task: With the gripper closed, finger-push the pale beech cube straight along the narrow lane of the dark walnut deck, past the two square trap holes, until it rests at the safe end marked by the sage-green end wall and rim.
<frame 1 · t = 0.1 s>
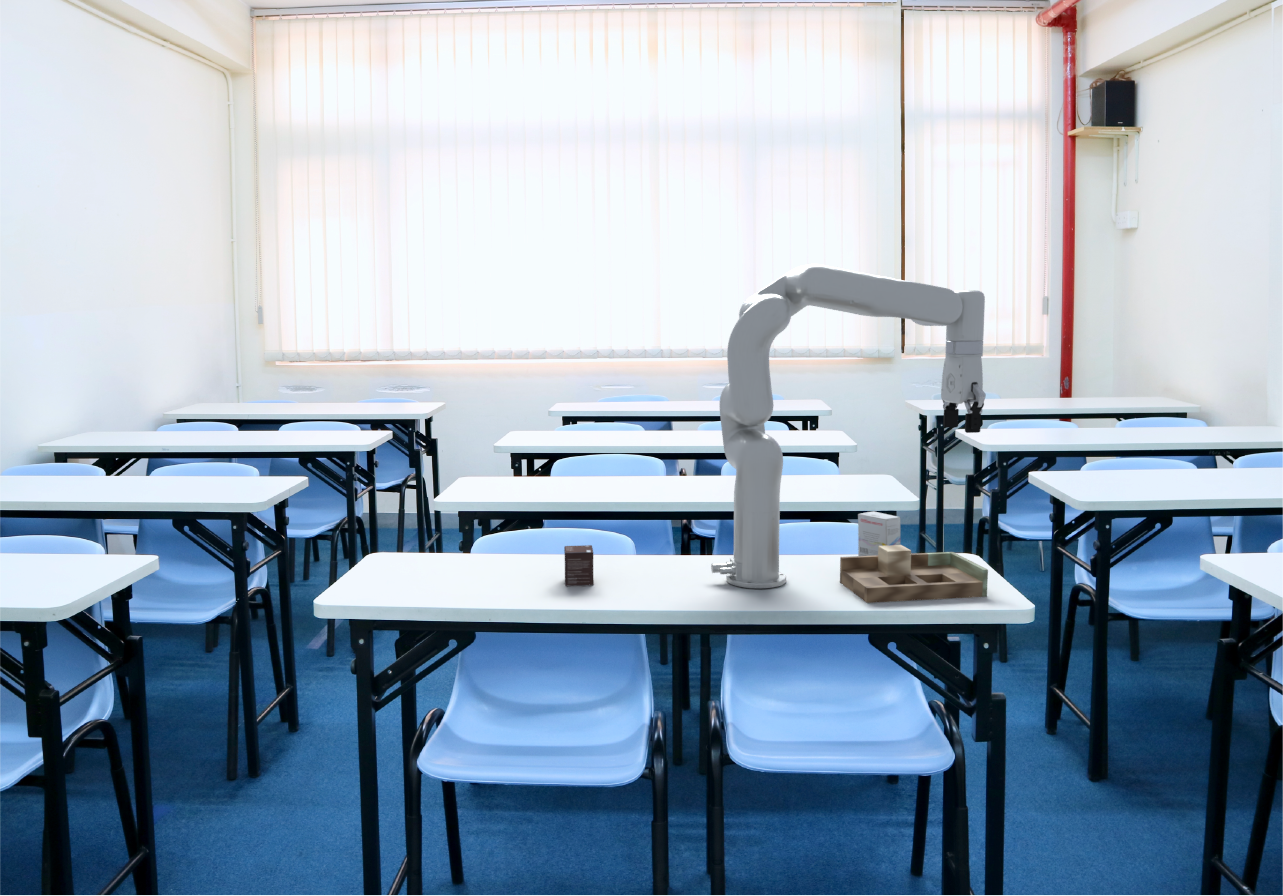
hand: (961, 429, 207), 31 cm above the table, fingers open, 9 cm apart
ink box: (878, 567, 216), on the table
box: (579, 583, 206), on the table
beech block: (893, 571, 200), point 3 cm above the table, touching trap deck
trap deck: (909, 589, 198), on the table
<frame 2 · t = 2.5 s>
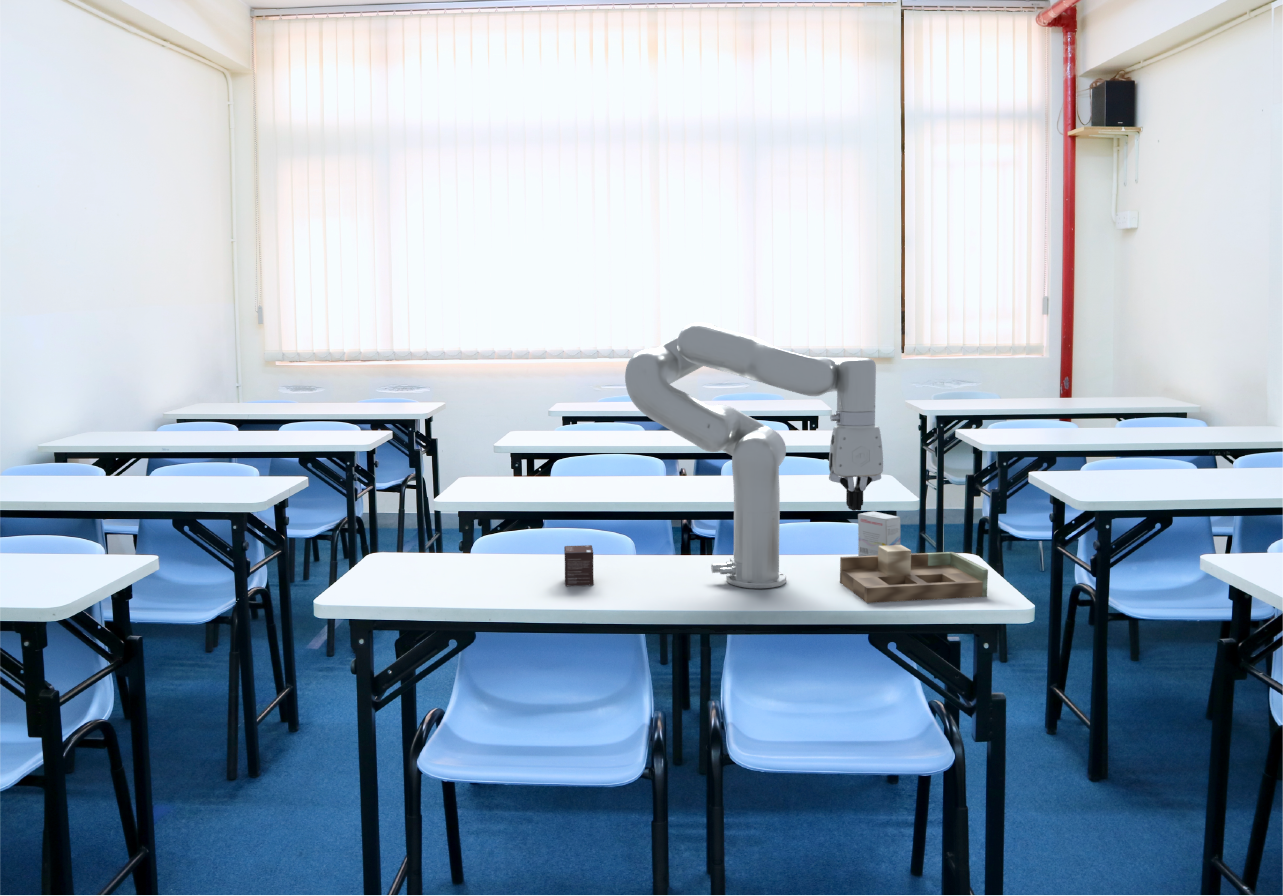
hand: (854, 509, 197), 16 cm above the table, fingers closed
nothing on the table moved.
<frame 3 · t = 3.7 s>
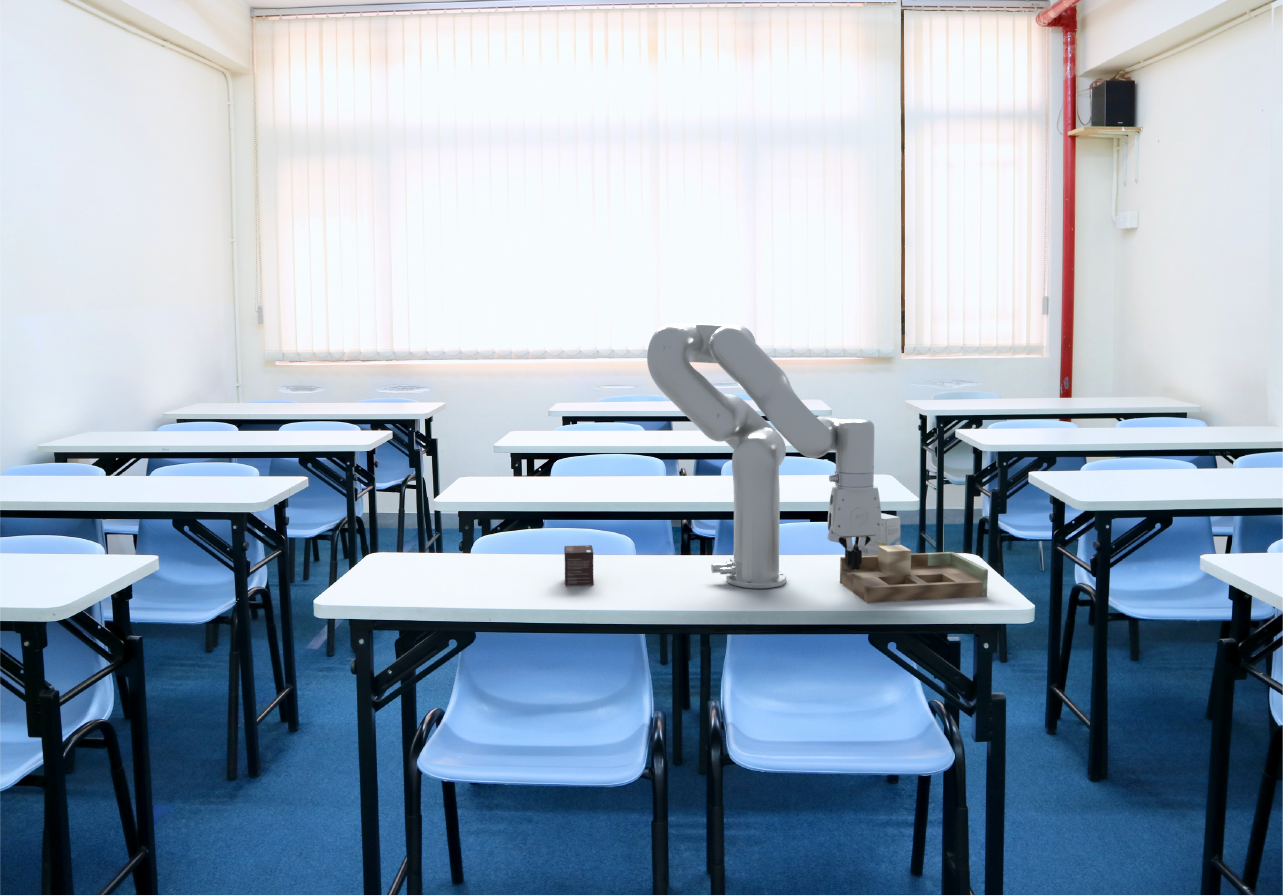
hand: (853, 568, 199), 4 cm above the table, fingers closed
nothing on the table moved.
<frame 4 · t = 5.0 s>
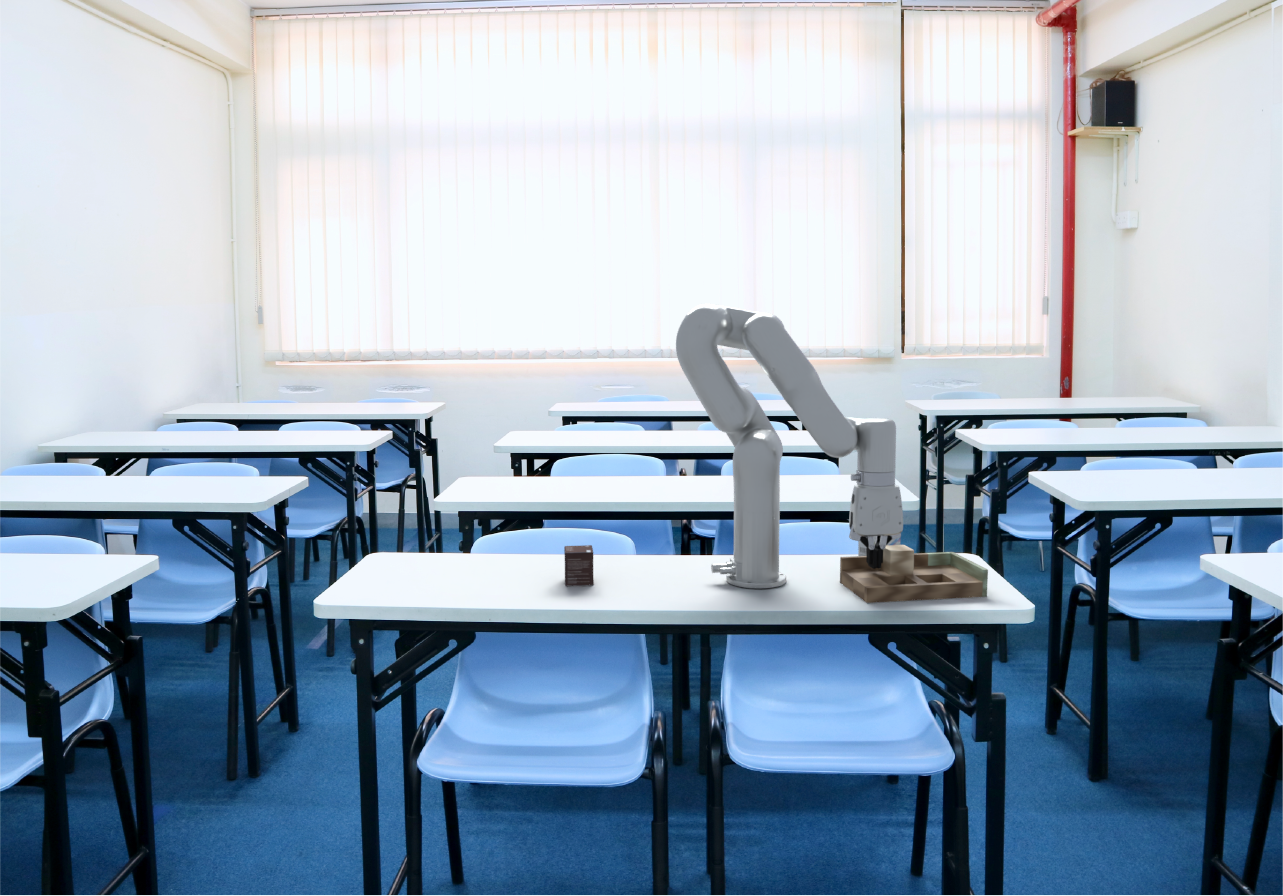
hand: (874, 566, 199), 4 cm above the table, fingers closed
beech block: (896, 571, 200), point 3 cm above the table, touching gripper
everything else where it was.
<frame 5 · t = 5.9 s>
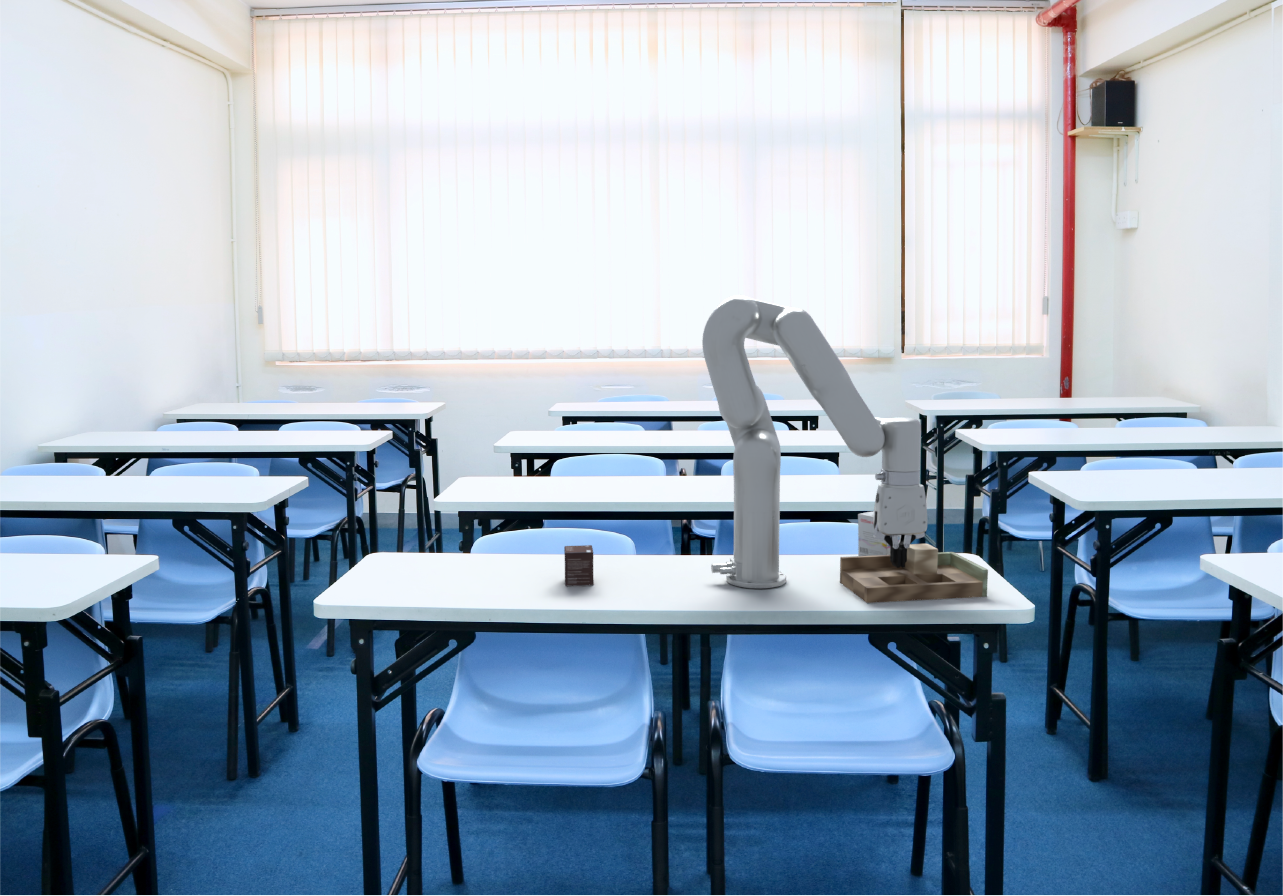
hand: (898, 565, 200), 4 cm above the table, fingers closed
beech block: (920, 570, 201), point 3 cm above the table, touching gripper, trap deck
everything else where it was.
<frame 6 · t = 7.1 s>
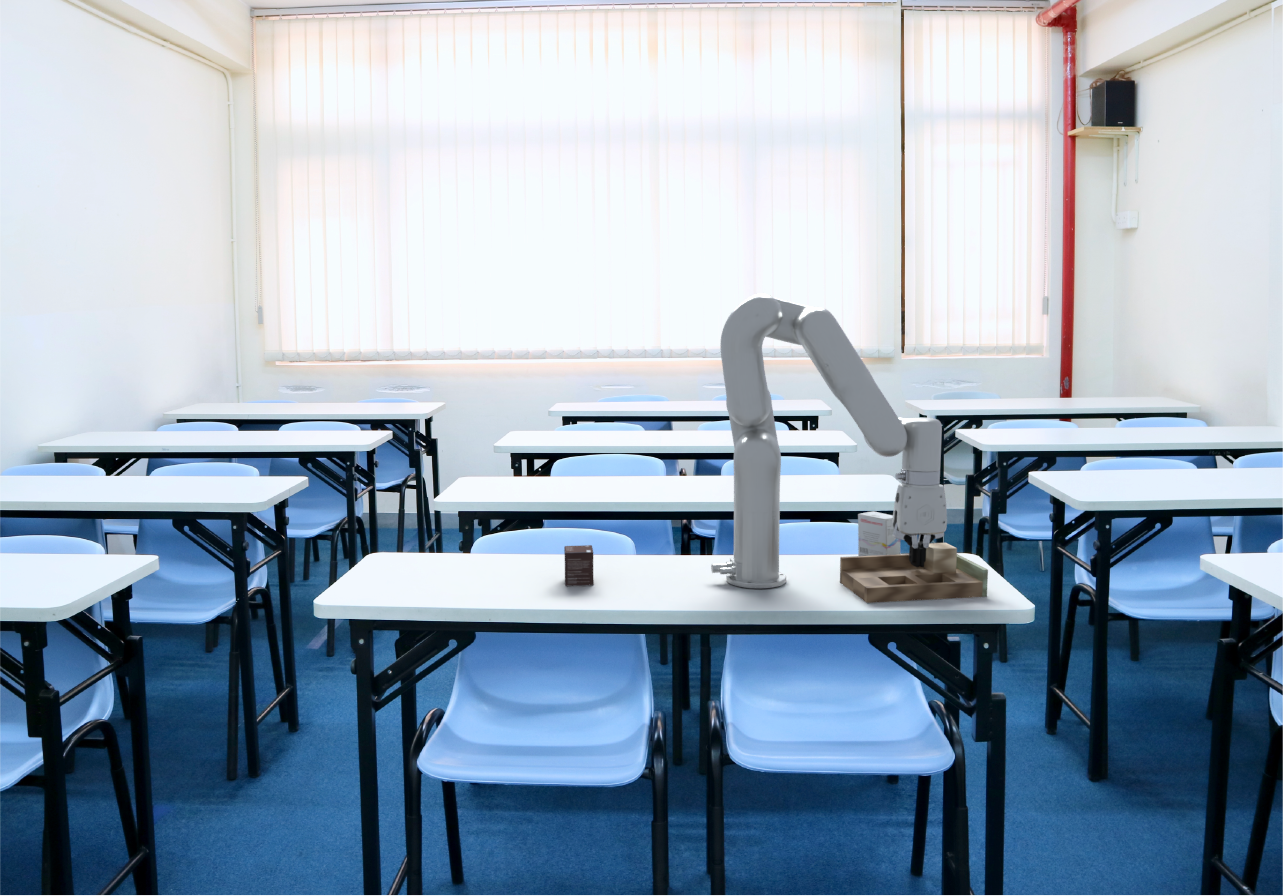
hand: (917, 565, 201), 4 cm above the table, fingers closed
beech block: (939, 569, 202), point 3 cm above the table, touching gripper, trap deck
everything else where it was.
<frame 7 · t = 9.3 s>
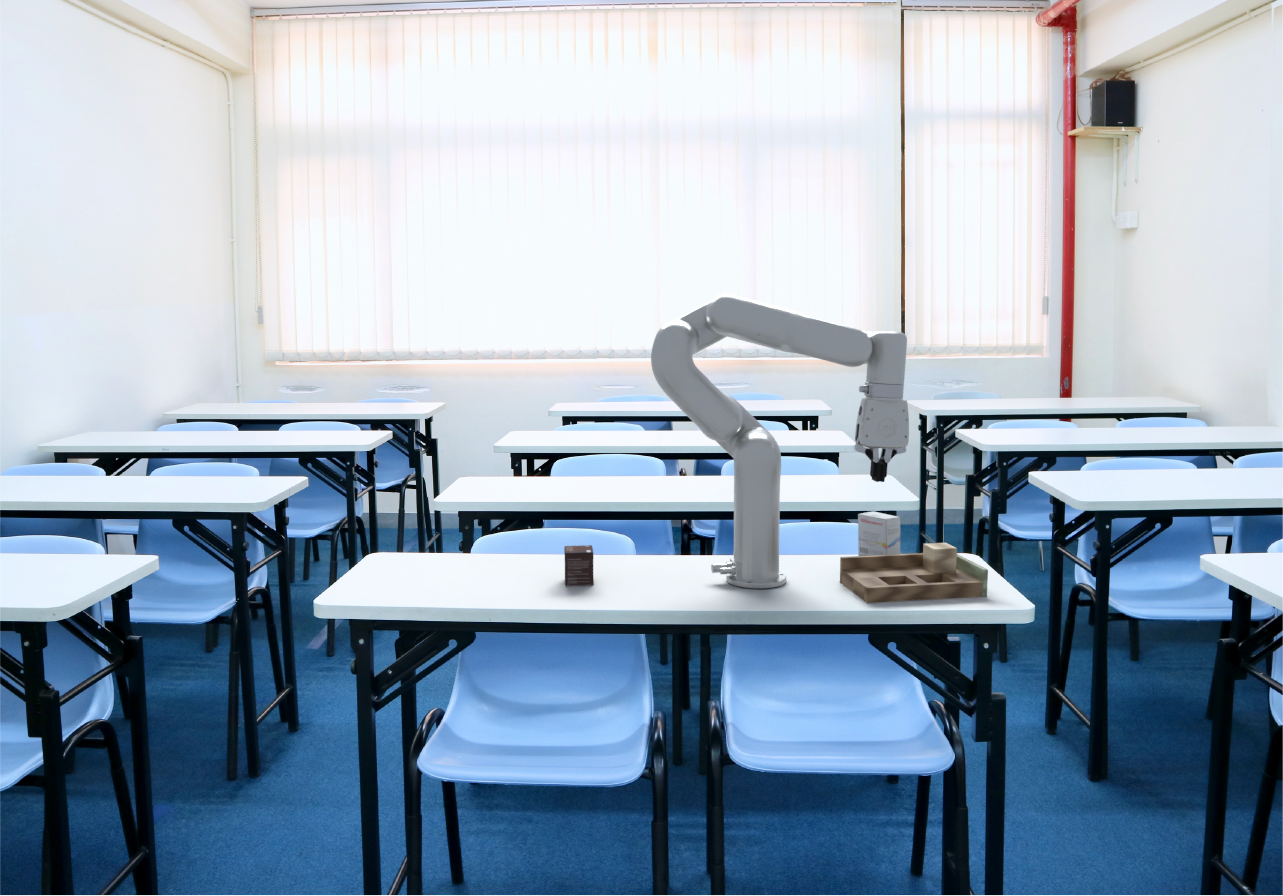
hand: (877, 480, 200), 22 cm above the table, fingers closed
beech block: (939, 569, 202), point 3 cm above the table, touching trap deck
everything else where it was.
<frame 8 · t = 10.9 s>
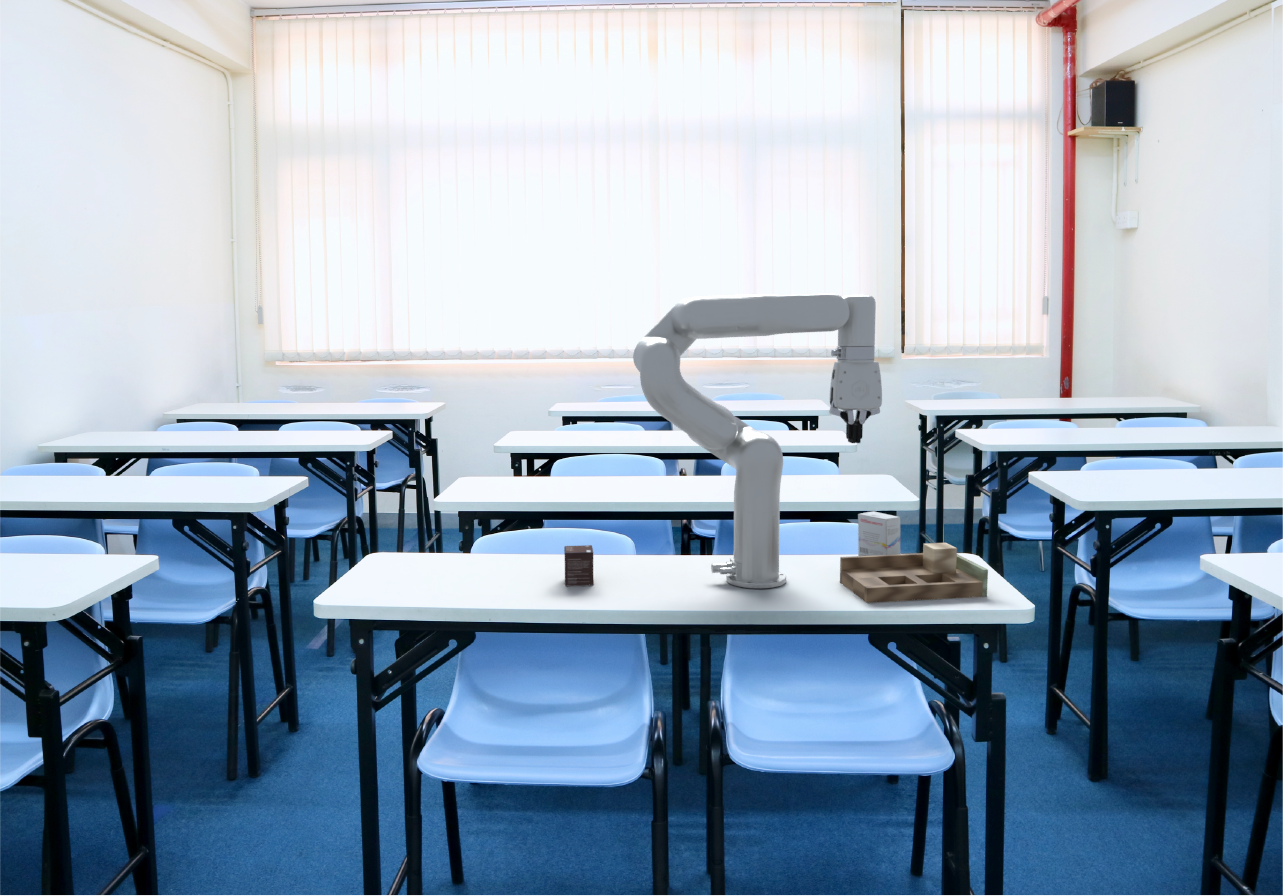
hand: (854, 442, 204), 29 cm above the table, fingers closed
nothing on the table moved.
at the end: beech block 1.3 cm from the target spot on the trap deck, point 3.0 cm above the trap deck's base; beech block tilted 0° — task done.
